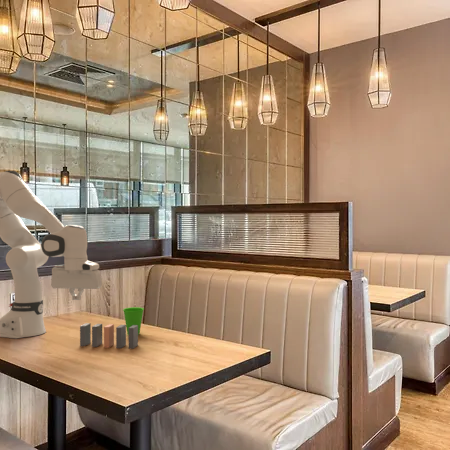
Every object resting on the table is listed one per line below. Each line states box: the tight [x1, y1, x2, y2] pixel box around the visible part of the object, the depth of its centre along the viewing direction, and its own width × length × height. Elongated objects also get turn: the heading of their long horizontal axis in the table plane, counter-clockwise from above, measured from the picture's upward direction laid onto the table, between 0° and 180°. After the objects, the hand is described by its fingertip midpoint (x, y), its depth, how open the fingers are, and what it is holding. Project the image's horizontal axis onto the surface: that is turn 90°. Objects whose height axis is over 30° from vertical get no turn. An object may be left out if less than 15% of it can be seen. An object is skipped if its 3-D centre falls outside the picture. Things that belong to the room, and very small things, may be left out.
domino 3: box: [103, 323, 115, 348], centre depth 180 cm, size 2×5×8 cm, turn 171°
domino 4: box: [115, 324, 127, 349], centre depth 179 cm, size 2×5×8 cm, turn 171°
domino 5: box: [128, 325, 139, 350], centre depth 178 cm, size 2×5×8 cm, turn 171°
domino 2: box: [91, 323, 103, 348], centre depth 181 cm, size 2×5×8 cm, turn 171°
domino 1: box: [79, 322, 92, 347], centre depth 181 cm, size 2×5×8 cm, turn 171°
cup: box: [122, 306, 145, 336], centre depth 198 cm, size 9×9×11 cm
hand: (76, 299), depth 182 cm, fingers closed
